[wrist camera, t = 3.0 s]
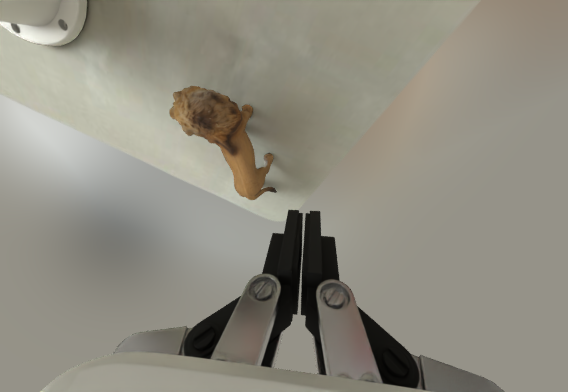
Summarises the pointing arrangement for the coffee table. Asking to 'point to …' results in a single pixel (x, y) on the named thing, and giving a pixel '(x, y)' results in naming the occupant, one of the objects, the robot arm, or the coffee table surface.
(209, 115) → the lion figurine
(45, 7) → the robot arm
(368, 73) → the coffee table surface
